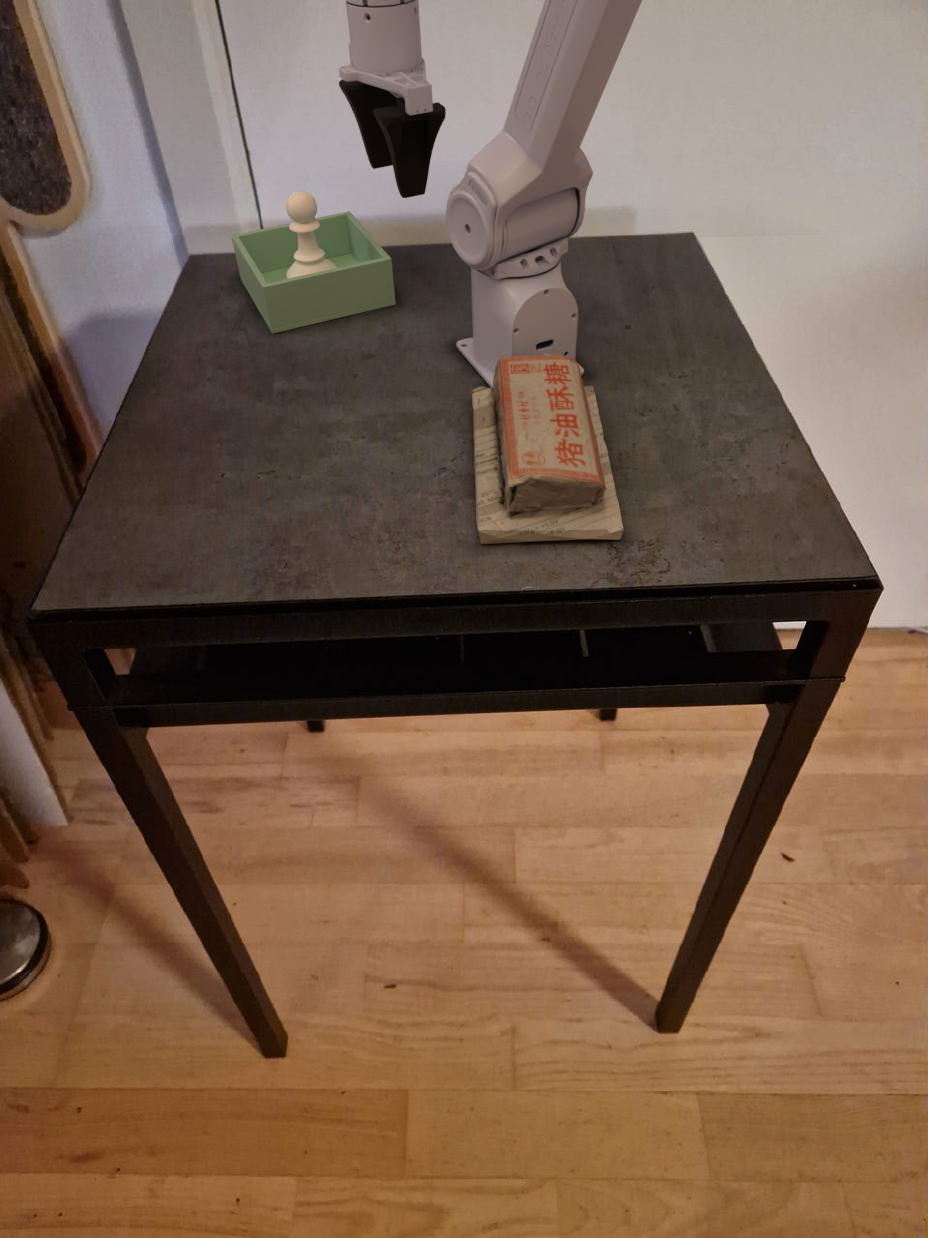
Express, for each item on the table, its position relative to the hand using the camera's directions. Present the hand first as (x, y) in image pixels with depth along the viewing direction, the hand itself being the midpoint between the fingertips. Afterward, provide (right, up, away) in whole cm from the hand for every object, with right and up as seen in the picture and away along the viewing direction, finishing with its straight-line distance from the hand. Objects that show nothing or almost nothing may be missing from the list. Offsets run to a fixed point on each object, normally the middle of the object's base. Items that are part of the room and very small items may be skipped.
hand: (397, 179), depth 80 cm
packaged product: (+12, -28, -13) cm, 33 cm away
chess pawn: (-9, -7, +8) cm, 14 cm away
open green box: (-9, -7, +8) cm, 14 cm away
